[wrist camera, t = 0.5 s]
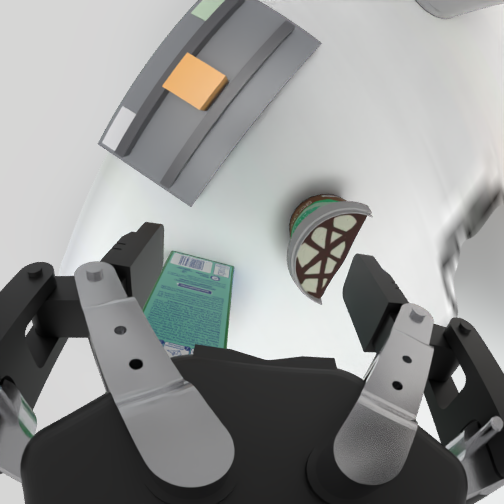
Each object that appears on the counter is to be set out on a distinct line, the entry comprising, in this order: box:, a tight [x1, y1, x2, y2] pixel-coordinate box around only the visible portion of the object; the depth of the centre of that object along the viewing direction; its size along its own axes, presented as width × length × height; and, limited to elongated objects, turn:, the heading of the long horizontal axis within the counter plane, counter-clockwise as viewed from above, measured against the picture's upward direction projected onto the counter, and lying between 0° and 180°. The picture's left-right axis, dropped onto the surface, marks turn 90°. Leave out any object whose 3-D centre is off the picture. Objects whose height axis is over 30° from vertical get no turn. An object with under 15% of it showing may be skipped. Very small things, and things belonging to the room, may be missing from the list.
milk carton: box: [106, 251, 234, 393], centre depth 31 cm, size 9×9×25 cm
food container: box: [287, 194, 372, 305], centre depth 34 cm, size 12×6×10 cm, turn 158°
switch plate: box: [98, 0, 322, 207], centre depth 28 cm, size 24×14×6 cm, turn 143°
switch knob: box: [162, 52, 229, 111], centre depth 25 cm, size 4×4×4 cm
